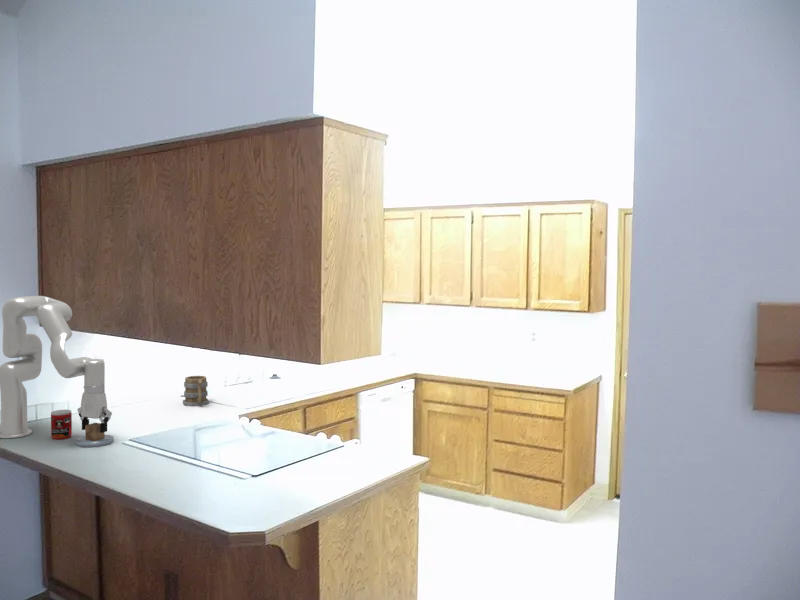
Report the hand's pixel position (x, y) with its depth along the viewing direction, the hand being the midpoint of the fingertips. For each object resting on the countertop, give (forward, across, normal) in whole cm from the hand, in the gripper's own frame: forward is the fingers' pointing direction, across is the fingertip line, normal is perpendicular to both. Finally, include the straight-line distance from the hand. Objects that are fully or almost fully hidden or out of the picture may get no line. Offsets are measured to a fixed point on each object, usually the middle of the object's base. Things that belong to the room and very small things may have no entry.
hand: (94, 430), depth 264 cm
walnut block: (+4, 0, 0) cm, 4 cm away
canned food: (+6, -19, 0) cm, 19 cm away
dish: (+5, 0, 0) cm, 5 cm away
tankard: (+5, -7, +74) cm, 74 cm away
